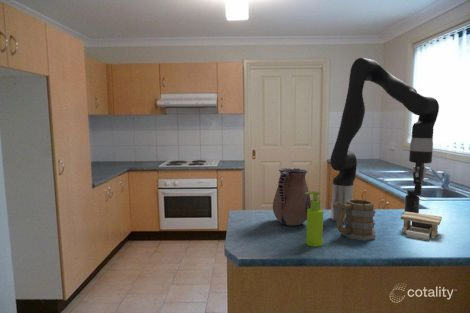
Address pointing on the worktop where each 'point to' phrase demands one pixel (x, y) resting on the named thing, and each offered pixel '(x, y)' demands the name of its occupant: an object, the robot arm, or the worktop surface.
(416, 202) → the supplement bottle
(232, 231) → the worktop surface
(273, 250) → the worktop surface
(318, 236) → the soap dispenser
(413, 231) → the white pull-out drawer
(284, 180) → the ceramic pitcher
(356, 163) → the robot arm
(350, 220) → the tankard
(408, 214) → the small wooden table
